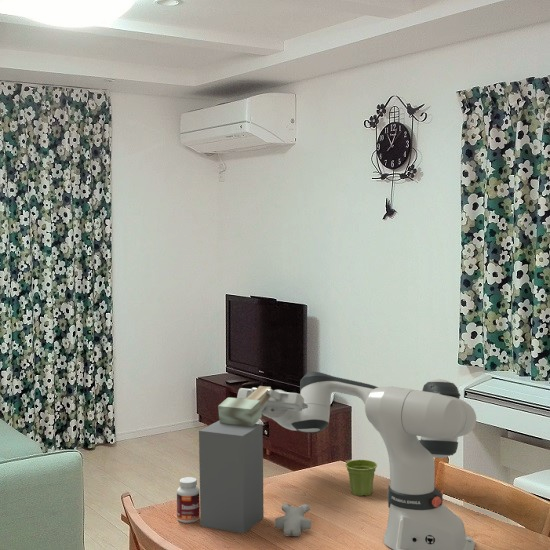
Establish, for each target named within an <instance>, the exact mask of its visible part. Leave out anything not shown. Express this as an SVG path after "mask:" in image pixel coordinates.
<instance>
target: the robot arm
mask: <svg viewBox="0 0 550 550" xmlns="http://www.w3.org/2000/svg"><path fill="white" fill-rule="evenodd" d="M299 381H300V383H299V384H300V386H299V389H300V390H299V391H300V393H297V392H287V391H285V390H282V389H272V388H271V389H267V392H266V395H267V396H270V397H271V398H270V399H269V400H268V401H267V402H265V403H264V404H263V405H262V406H261V414H262V416H263V417H266V418H268V419H271V420H273V421H274V422H276V423H277V424H278V425H280V426H281V427H283V428H285V429H287V430H290V431H293V432H294V431H296V432H300V433H302V434H303V433H304V434H317V433H320V432H322V431H323V430H325V429H326V428H327V427H328V426H329V422H330V414H331V413H330V412H331V399H332V394H333V393H340V394H344V395H348V396H352V397H357V398H359V399H361V400H362V402H363V404H364V412H365V416H366V418H367V421H368V422H369V423H370V424H371V426H373V428H374V429H375V430H376V431H377V432H378V433H379V434H380V436H381V438H382V440H383V441H382V442H383V443H384V445H385V448H386V450H387V454H388V461H389V463H388V464H389V485H388V490H387V505H388V506H387V507H388V517H387V524H386V529H385V533H384V536H383V542H384V545H386V546H387V547H389V548H390V549H392V550H475V549H476V543H475V540H474V539H473V538H472V537H471V536H470V535H469V536H468V535H466V528H465V524H464V522H463V520H462V518H460V517H459V516H458V515H457V514H456V513H454V511H452V510H451V509H450V508H448V507H447V506H446V505H445V504H444V503H443V500H444V499H443V496H444V490H443V489H441V491H440V490H438V488H436V487H435V480H436V479H435V475H436V474H435V470H436V469H435V467H436V463H435V459H434V458H437V459H444V458H448V457H450V456H453V455H455V454H456V453H457V450H458V446H459V442H458V439H459V438H460V437H463V436H465V435H468V434H469V433H471V432H472V431H473V430H474V429H475V426H476V423H477V414H476V411H475V409H474V408H473V407H472V405H470V404H469V403H467V402H466V401H464V400H463V399H461V398H460V397H461V393H460V392H459V391H460V390H459V388H458V387H457V385H456V384H455V383H453V382H450V381H449V380H447V379H441V378H438V379H433V380H431V381H427V382H426V383H425V384H423V387H422V390H419V389H411V388H405V387H399V386H398V387H397V386H382V387H381V386H380V387H378V386H376V385H373V384H369V383H365V382H361V381H358V380H357V381H356V380H352V379H348V378H342V377H339V376H335V375H330V374H327V373H324V372H319V371H309V372H307V373H306V374H305V375H304V376H303V377H302V378H301V379H300V380H299ZM257 388H258V387H251V388H243V387H240V388H239V389H238V390H237V391H238V392H237V396H236V398H240V399H246V398H247V397H248V396H250V395H251V394H252V393H253V392H254V391H255V390H256V389H257ZM418 437H420V439H419V438H418Z"/></svg>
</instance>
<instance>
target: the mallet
mask: <svg viewBox="0 0 550 550" xmlns="http://www.w3.org/2000/svg"><path fill="white" fill-rule="evenodd" d="M256 388H257V389H256V390H255V391H254V392H253V393H252V394H251V395H250V396H248V397H247V398H246V399H240V398H237V397H226V399H224V400H223V401H222V402H221V403H219V404H218V406H217V410H218V419H219V420H220V423H226V424H235V425H244V426H254V425H255V424H258V422H259V421H260V420H261V419H262V417H263V415H262V414H261V406H262V405H263V404H264V403H265V402H267V401H268V400H269V399H270V398H271V397H270V396H267V395H266V392H267V389H272V387H271V386H263V385H259V386H257V387H256ZM219 420H218V421H219Z"/></svg>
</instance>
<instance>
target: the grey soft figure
mask: <svg viewBox="0 0 550 550" xmlns="http://www.w3.org/2000/svg"><path fill="white" fill-rule="evenodd" d="M280 509H281V510H282V511H283V512H284V514H285V515H283V516H280V517H277V518H274V528H275V529H278V530H279V529H280V530H282V531H283V536H287V537H296V536H297V537H301V534H302V533H301V532H302V531H306V530H311V529H312V520H311V519H309V518H307V517H304V516H305V514H306V513H308V512H309V511H310V510H311V508H310V505H309V504H307V503H303V504H301V505H300V506H292V504H290V503H286V502H285V503H282V506H281V508H280Z"/></svg>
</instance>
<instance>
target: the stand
mask: <svg viewBox="0 0 550 550" xmlns="http://www.w3.org/2000/svg"><path fill="white" fill-rule="evenodd" d="M263 425H264V424H262V423H261V424H260V423H256V424H255V425H254V426H244V425H235V424H226V423H220V420H217V421H216V422H213V423H211V424H209V425H208V426H206V427H202V428H201V429H200V430H198V448H199V449H198V453H199V460H198V461H199V462H198V463H199V505H200V517H199V519H200V520H199V521H200V522H199V523H200V527H204V528H209V529H216V530H221V531H227V532H231V533H237V534H243V535H245V534H246V533H247V532H248V531H249V530H250V529H252V528H253V527H254V526H255V525H257V524H258V523H259V522H260V521H261V520H262V519H264V518H265V516H264V515H265V514H264V513H265V512H264V510H265V509H264V440H263V439H264V437H263V436H264V435H263V434H264V431H263V430H264V429H263V428H264V427H263Z"/></svg>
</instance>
